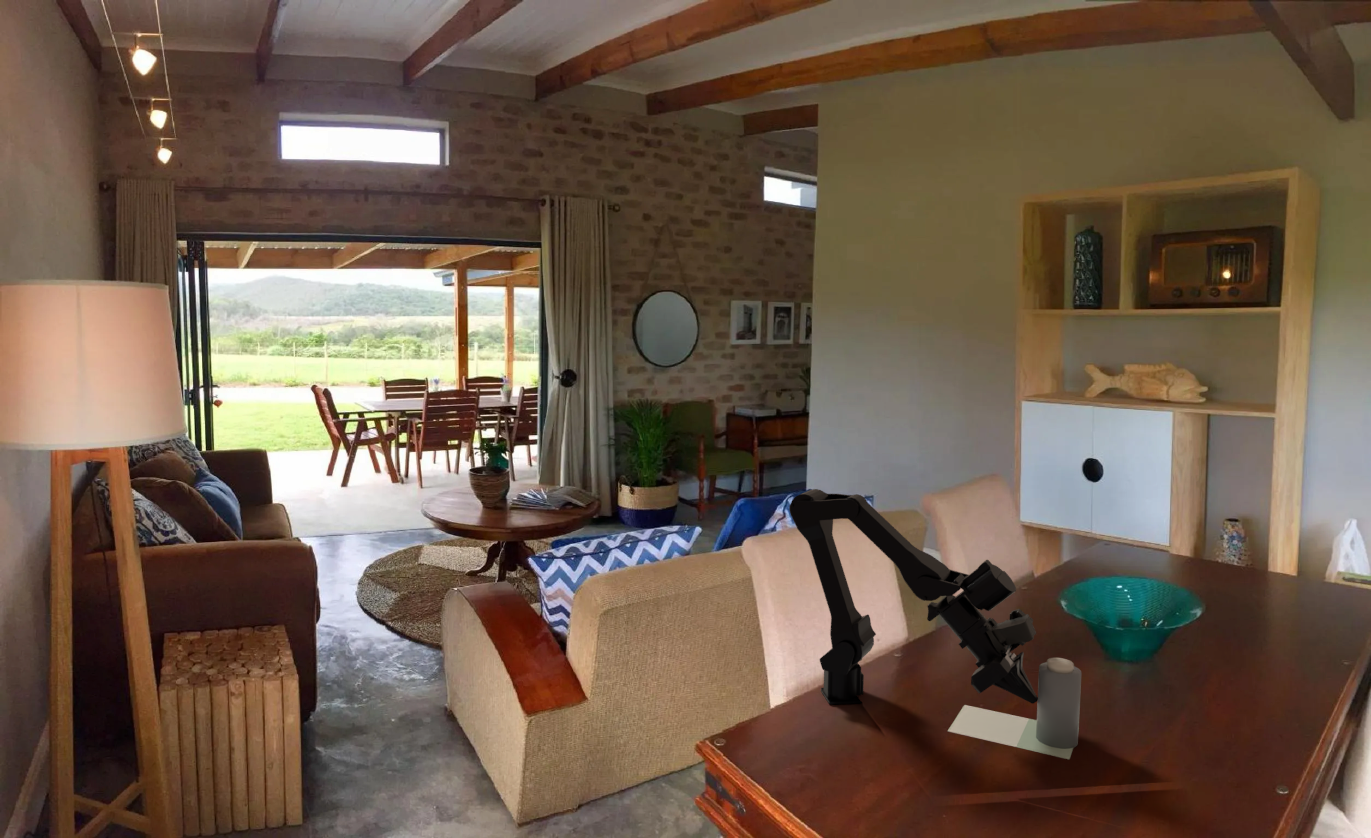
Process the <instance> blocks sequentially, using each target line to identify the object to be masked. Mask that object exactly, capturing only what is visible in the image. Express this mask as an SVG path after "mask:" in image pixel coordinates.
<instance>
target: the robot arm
mask: <svg viewBox="0 0 1371 838" xmlns="http://www.w3.org/2000/svg"><path fill="white" fill-rule="evenodd" d="M789 514H790V516H791V519H792V520H793V522H794V525H795V528H796V529H797V530H798V532H799V533H800V535H801V536H803V538H804V539H805V540H806V541H807V543H808V545H809V546H808V547H809V549H810V552H811V555H812V558H813V562H814V565H815V568H816V571H817V575H818V578H819V581H820V584H821V586H822V590H823V593H824V597H825V601H826V604H827V606H828V610H829V613H830V629H829V631H830V632H829V635H830V641H831V648H830V649H829V650H828V651H827V652H826V653H825V654H823V655H822V656H821V657H820V658H819V663H820V666H821V669H822V670H823V687H821V688H820V692H821V693H822V695H823V697H824V698H825V699H826V701H827V703H828V704H829V705H846V704H848V705H849V704H862V703H863V702H862V700H861V699H860V698H859V696H862V695H864V680H865V677H864V674H863V672H862V666H861V665H860V664H859V662H861V661H862V660H863V658H865V657H866V655H867V654H868V653H870V652H871V651H872V649H873V647H874V645H875V644H874V643H875V639H874V637H875V636H876V635H877V633H876V631H874V629H873V627H872V622H871V617H870V615H869V614H865V615H862V614H861V613H860V612H859V611H858V610H857V608H856V607H855V603H854V600H853V597H852V594H851V590H850V587H849V584H848V581H847V577H846V575H845V574H846V573H845V571H844V567H843V564H842V562H841V557H840V556H839V552H838V548H837V545H836V543H835V538H834V535H833V530H834V529H833V528H834V520H840V519H842V520H843V519H845V520H849V521H850V522H851V523H852V524H853V525H854V526H855V527H856V528H858V530H859V531H860V532H861V533H862V534H864V535H865V536H866V538H868V539H869V540H870V541H871V543H873V545H875V546H876V547H877V548H878V549H879V550H880V551H881V552H882V553H883V554H884V555H885V556H886V557H887V558H889V560H890V561H891V562H893V564H894V565H895V566H896V568H898V571H899V573H900V575H901V577H902V579H903V581H904V582H905V584H906V585H907V586H908V587H909V589H910V591H911V592H912V593H913V594H914V596H916V598H918V599H919V600H921V601H926V602H930V603H928V605H927V617H926V619H927V621H928V622H931V621H933V620H934V619H936V618H937V617H938V616H939V617H940V618H941V619H942V620H943V622H944V623H945V624H946V625H947V626H948V627H949V629H951V631H952V632H953V634H955V636H956V637H957V638H958V639H959V640H960V642H959V643H958V645H959V647H960V648H961V649H964V648H967V650H968V651H969V652H970V654H972V656H974V658H975V659H976V662H975V665H976V666H977V669H975V670H974V672H973V674H972V675H971V676H970V677H971V679H970V681H971V682H970V685H971V686H972V687H973V688H974V690H975V691H976V692H977V694H982V693H983V692H984V691H986V690H987V689H989V688H990V687H991V686H995V687H997V688H999V689H1002V690H1004V691H1007V692H1008V693H1010V694H1012V695H1014V696H1016V697H1019V698H1020V699H1022V700H1024V701H1026V702H1028V703H1029V704H1035V703H1037V701H1038V694H1037V693H1036V692H1035V690H1034V688H1033V686H1032V683H1031V682H1030V680H1029V678H1028V676H1027V674H1026V672H1025V669H1024V666H1023V660H1024V651H1021V652H1020V653H1018V654H1017V655H1016V654H1015V652H1013V651H1014V650H1016V648H1018V647H1020V646H1022V647H1023V646H1024V645H1025V644H1026V643H1028V642H1031V641H1033V640H1034V639H1035V637H1034V636H1035V635H1037V630H1036V628H1035V627H1034V625H1033V622H1034V619H1033V618H1032V617H1031V616H1030V615H1029V613H1027V614H1026V613H1025V612H1024V611H1023V610H1022V609H1020V608H1017V609H1014V610H1011V612H1010V613H1009V618H1008V619H1005V620H1004V621H1002V622H997V621H996V620H995V619H994V617H993V618H992V617H988V618H986V616H984V615H983V613H982V612H981V611H983V610H985V611H988V612H989V611H992V610H993V609H994V608H995V607H997V606H998V605H1000V604H1001V603H1003V602H1004V601H1006V599H1008V598H1009V597H1010V596H1012V595H1013V594H1014V593H1016V592H1017V587H1016V585H1015V583H1014V581H1013V580H1012V578H1011V577H1010V575H1008V573H1007V572H1006V571H1005V570H1002V569H1001V568H1000V567H999V566H997V565H996V564H992V562H991V561H990V560H989V559H985V560H984V561H983V562H981V564H979V566H978V567H977V568H976V569H974V571H972V572H971V573H969V574H967V573H965V572H960V571H957V570H953V569H950V568H948V566H947V565H945V564H944V562H941V561H940V560H939V559H938V558H936V557H935V556H933V555H931V554H929V553H927V552H925V551H923V550H920V549H919V548H918V547H916V546H915V545H913V544H912V543H911V542H910V541H909V540H908V539H907V538H906V537H905V536H904V535H902V534H901V533H900V532H899V531H898V530H897V529H896V528H895V527H894V526H893V525H892V524H891V523H890V522H889V521H888V520H886V518H884V517H883V516H882V514H880V512H878V510H876V509H875V508H874V507H873V506H872V505H871V504H870V503H869V502H868V500H867V499H866V497H864V496H863V495H862V494H857V493H856V494H844V493H827V492H825V491H823V490H821V489H818V488H813V489H810V490H808V491H805V492H803V493H800V494H798V495H795V496H794V497H793V499H792V500H791V502H790V504H789ZM960 590H962V591H961V592H959V593H958V594H957V595H955V594H956V593H957V592H958V591H960ZM941 597H943V598H942V599H941V600H939V601H937V602H933V601H936V600H938V599H939V598H941ZM1012 652H1013V653H1012Z"/></svg>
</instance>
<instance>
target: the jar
mask: <svg viewBox="0 0 1371 838" xmlns="http://www.w3.org/2000/svg"><path fill="white" fill-rule="evenodd" d="M1037 681H1038V683H1037V697H1038V700H1037V702H1036V704H1037V705H1036V708H1037V709H1036V720H1037V723H1036V738H1037V740H1038V741H1040V742H1041V743H1043V744H1045V745H1048V746H1051V747H1054V748H1061V749H1069V748H1073V749H1074V748H1077V746H1078V745H1079V743H1078V742H1079V731H1080V728H1079V727H1080V712H1081V711H1080V708H1081V691H1082V689H1081V688H1082V687H1081V686H1082V670H1081V669H1080V668H1078V667H1077V666H1075V664H1074V662H1073V661H1072V660H1069V659H1066V658H1062V657H1049V658H1048V659H1046V662H1042V663H1040V664H1039V665H1038V680H1037Z"/></svg>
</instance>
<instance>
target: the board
mask: <svg viewBox="0 0 1371 838" xmlns="http://www.w3.org/2000/svg"><path fill="white" fill-rule="evenodd" d="M1036 723H1037V719H1033V718H1027V717H1023V716H1018V715H1014V714H1013V715H1012V714H1009V713H1005V712H1000V711H996V710H995V711H994V710H990V709H986V708H981V707H977V706H971V705H967V704H964V705H963V706H962V708H961V710H960V711H959V712H958V714H957V716H956V717H955V719H954V721H953V722H952V724H951V725H950V727H949V728H948V730H947V732H949V733H953V734H956V735H957V734H958V735H960V736H961V735H962V736H966V737H971V738H973V739H980V740H984V741H986V742H987V741H988V742H992V743H997V744H1001V745H1006V746H1009V747H1014V748H1018V749H1023V750H1027V751H1032V752H1036V753H1040V754H1043V755H1048V756H1053V757H1056V758H1061V759H1065V760H1066V759H1067V760H1070V759H1071V756H1072V753H1073V750H1074V748H1069V749H1061V748H1054V747H1051V746H1048V745H1045V744H1043V743H1041V742H1040V741H1038V740H1037V738H1036Z"/></svg>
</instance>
